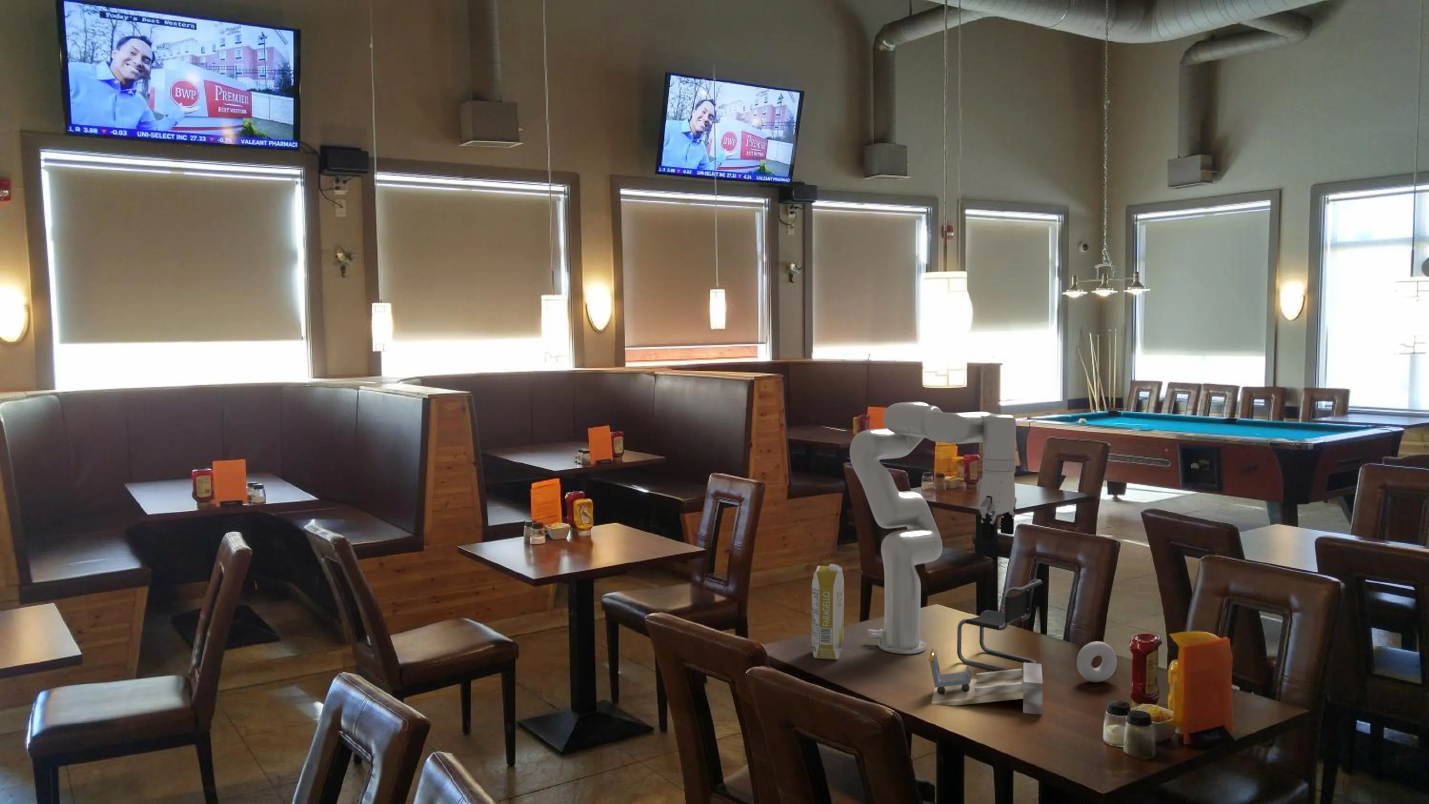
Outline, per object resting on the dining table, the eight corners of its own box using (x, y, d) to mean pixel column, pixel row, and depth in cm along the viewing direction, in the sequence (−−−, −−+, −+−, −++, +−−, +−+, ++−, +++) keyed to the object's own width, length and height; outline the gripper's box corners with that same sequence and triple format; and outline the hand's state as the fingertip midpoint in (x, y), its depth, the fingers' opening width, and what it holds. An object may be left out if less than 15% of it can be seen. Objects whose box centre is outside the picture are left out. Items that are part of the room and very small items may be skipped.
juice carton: (841, 661, 258) (842, 569, 257) (810, 659, 260) (811, 567, 259) (844, 650, 268) (844, 561, 266) (814, 648, 269) (814, 560, 268)
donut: (1080, 685, 240) (1081, 644, 240) (1073, 680, 244) (1074, 640, 243) (1119, 683, 242) (1120, 642, 241) (1111, 678, 245) (1112, 638, 245)
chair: (1019, 677, 246) (1020, 588, 245) (955, 661, 258) (957, 577, 257) (1042, 664, 256) (1044, 579, 254) (980, 650, 268) (981, 568, 266)
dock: (931, 707, 229) (931, 673, 228) (936, 687, 242) (936, 654, 242) (1041, 718, 222) (1042, 683, 221) (1040, 697, 235) (1041, 663, 235)
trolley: (928, 693, 232) (928, 656, 232) (930, 684, 239) (931, 648, 238) (969, 698, 230) (970, 660, 229) (971, 688, 236) (971, 651, 236)
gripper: (1000, 461, 249) (999, 529, 250) (967, 468, 236) (966, 540, 237) (1029, 463, 244) (1028, 533, 245) (997, 470, 231) (996, 544, 232)
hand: (998, 536), depth 241 cm, fingers open, 9 cm apart
